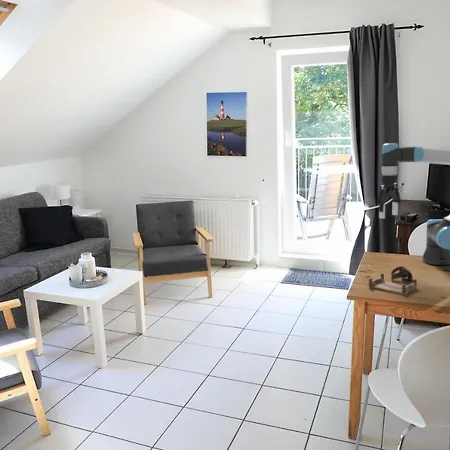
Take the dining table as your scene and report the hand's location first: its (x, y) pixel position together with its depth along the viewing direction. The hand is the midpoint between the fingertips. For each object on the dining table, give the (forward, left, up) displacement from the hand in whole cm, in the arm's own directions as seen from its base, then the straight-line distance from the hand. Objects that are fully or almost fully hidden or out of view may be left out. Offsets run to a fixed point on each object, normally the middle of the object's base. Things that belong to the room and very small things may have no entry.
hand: (388, 216), depth 247 cm
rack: (+26, +16, -29) cm, 42 cm away
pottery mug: (+11, +15, -30) cm, 35 cm away
